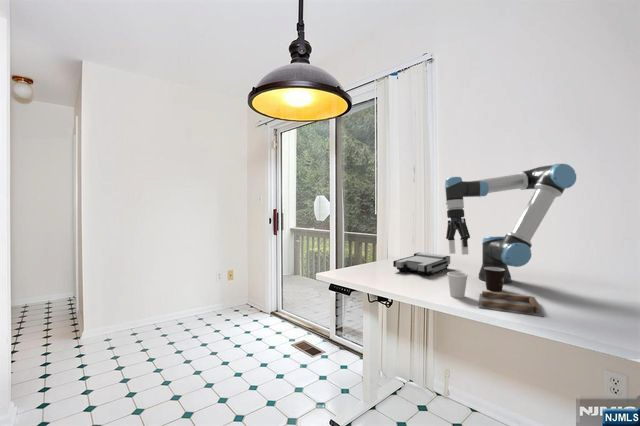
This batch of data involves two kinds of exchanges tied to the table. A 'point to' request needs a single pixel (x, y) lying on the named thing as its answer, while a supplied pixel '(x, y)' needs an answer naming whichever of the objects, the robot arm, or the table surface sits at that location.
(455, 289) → the dixie cup
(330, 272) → the table surface
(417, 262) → the game console
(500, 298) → the tray with wooden rails
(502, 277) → the coffee mug
